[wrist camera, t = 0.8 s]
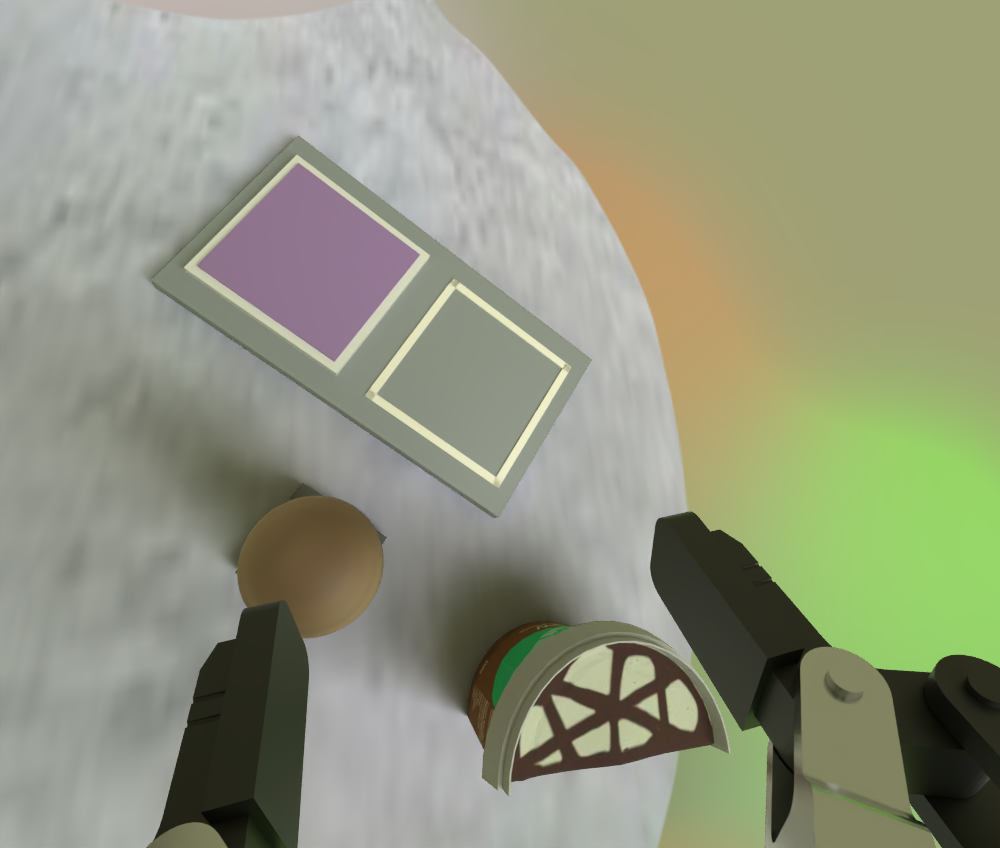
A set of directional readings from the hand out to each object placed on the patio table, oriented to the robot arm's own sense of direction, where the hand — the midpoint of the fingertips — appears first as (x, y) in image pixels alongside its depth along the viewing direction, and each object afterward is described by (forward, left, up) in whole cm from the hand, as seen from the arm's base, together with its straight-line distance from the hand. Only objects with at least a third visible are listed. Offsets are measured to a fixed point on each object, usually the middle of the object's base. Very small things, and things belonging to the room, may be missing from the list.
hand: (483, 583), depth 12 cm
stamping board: (-7, +12, -22) cm, 26 cm away
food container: (+12, 0, -22) cm, 25 cm away
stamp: (-3, -2, -22) cm, 22 cm away
